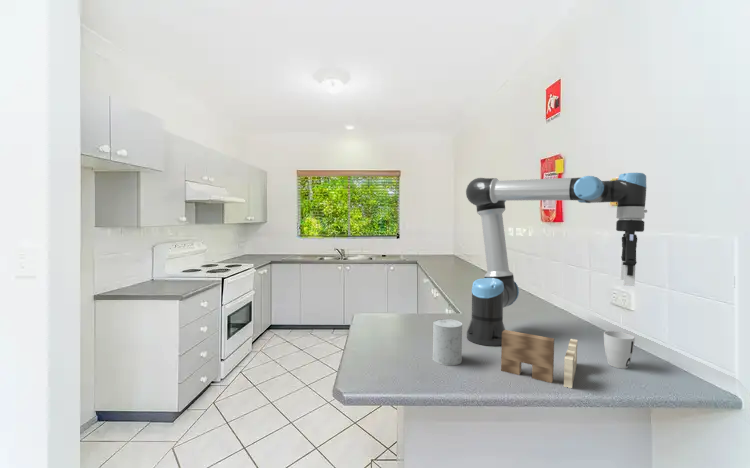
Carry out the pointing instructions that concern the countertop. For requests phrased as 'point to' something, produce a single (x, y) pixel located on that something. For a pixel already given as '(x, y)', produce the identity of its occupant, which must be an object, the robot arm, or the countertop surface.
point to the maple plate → (570, 363)
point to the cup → (618, 348)
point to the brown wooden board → (528, 354)
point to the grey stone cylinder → (447, 341)
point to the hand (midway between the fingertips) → (627, 282)
